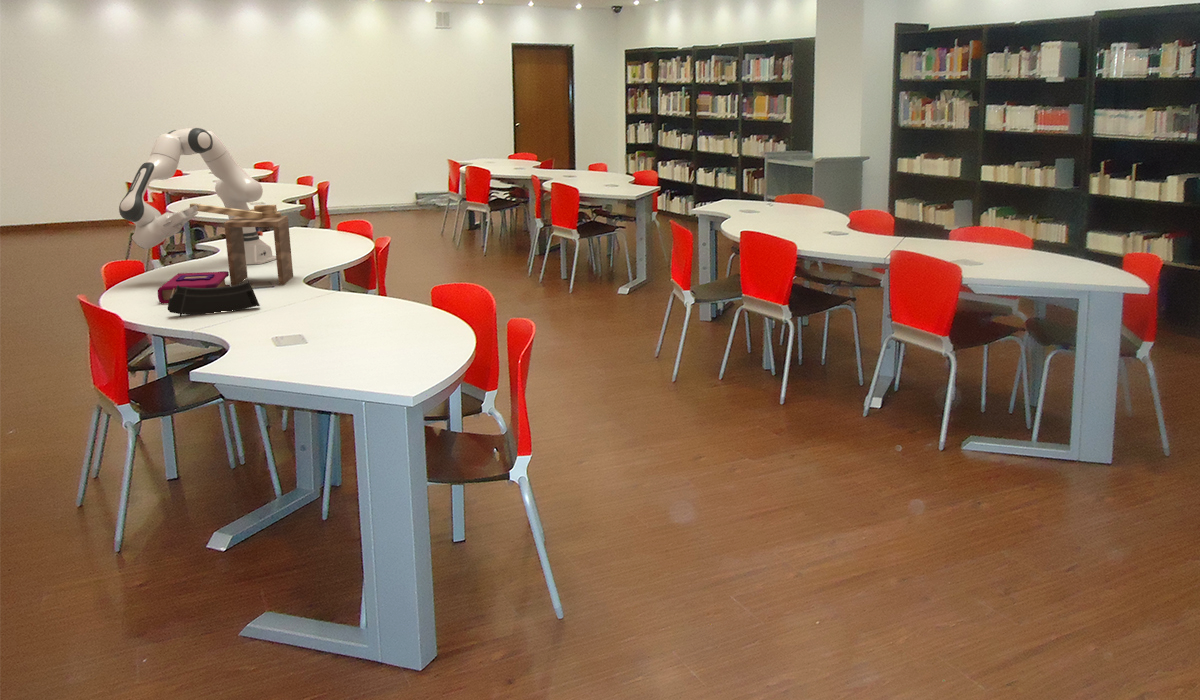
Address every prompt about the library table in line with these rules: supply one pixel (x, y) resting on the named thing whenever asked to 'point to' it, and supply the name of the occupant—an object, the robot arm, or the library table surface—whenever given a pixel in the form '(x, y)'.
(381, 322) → the library table surface
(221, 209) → the batten
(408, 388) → the library table surface
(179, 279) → the book
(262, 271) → the library table surface
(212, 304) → the magazine
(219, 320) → the library table surface
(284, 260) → the rack
